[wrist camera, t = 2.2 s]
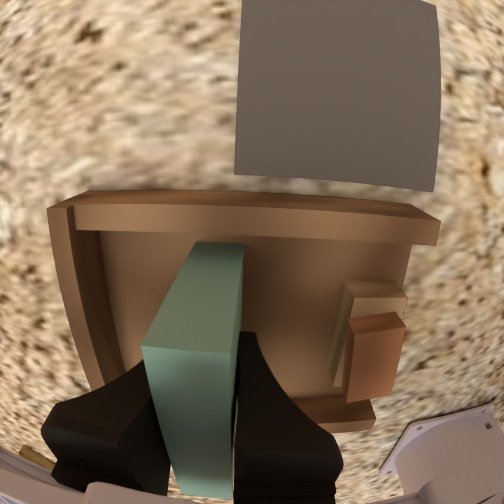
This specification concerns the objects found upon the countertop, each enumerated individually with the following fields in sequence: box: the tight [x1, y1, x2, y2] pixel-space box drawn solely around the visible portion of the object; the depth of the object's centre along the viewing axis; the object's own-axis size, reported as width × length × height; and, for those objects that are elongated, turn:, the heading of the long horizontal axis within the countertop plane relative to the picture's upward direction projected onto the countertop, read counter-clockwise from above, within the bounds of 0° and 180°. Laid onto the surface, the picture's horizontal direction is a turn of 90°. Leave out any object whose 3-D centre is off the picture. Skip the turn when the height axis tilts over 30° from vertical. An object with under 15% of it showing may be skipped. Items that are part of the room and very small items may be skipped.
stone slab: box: [19, 445, 55, 471], centre depth 27 cm, size 12×4×30 cm
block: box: [141, 241, 244, 499], centre depth 11 cm, size 2×8×7 cm, turn 178°
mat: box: [234, 0, 441, 192], centre depth 11 cm, size 9×10×1 cm
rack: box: [47, 190, 441, 433], centre depth 14 cm, size 15×12×3 cm
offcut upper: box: [341, 311, 406, 403], centre depth 12 cm, size 2×4×1 cm, turn 6°
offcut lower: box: [327, 280, 408, 387], centre depth 14 cm, size 2×5×2 cm, turn 177°
